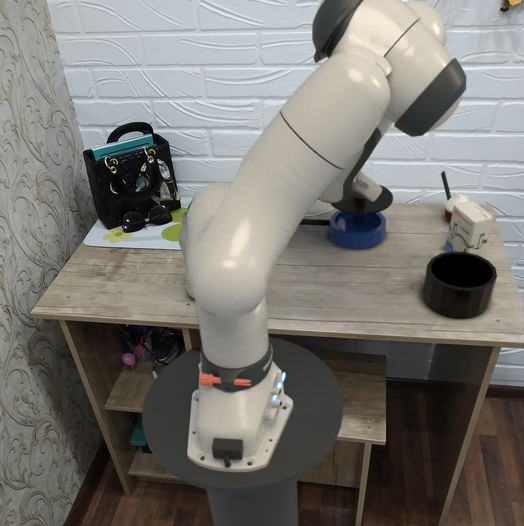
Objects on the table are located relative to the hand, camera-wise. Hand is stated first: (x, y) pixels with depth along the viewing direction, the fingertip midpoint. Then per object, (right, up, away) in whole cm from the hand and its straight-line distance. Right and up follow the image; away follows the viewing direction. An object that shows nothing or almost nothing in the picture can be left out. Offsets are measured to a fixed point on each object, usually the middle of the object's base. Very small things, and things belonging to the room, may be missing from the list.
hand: (362, 189), depth 135 cm
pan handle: (-11, -7, +8) cm, 16 cm away
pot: (+18, -27, -13) cm, 35 cm away
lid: (0, -2, +1) cm, 2 cm away
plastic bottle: (-37, -26, -7) cm, 46 cm away
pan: (0, -9, +8) cm, 12 cm away
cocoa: (+25, -5, +11) cm, 28 cm away
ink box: (+23, -16, -1) cm, 28 cm away
